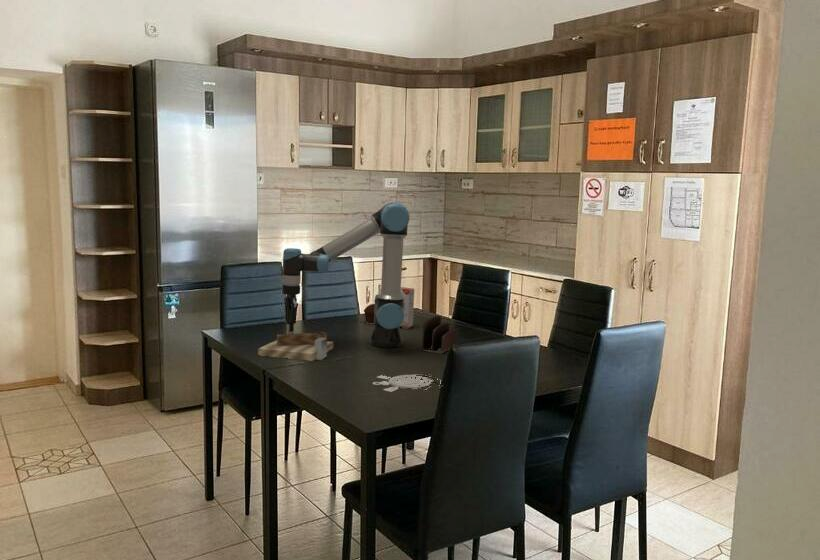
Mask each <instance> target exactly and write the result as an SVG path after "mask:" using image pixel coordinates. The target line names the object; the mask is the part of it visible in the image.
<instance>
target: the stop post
mask: <svg viewBox="0 0 820 560" xmlns="http://www.w3.org/2000/svg"><path fill="white" fill-rule="evenodd" d="M327 341H328V338H318V339H316V340H315V360H314V361H316V360H317V361H323V360H325V359H326V358H327V353H328V352H327ZM325 357H326V358H325Z"/></svg>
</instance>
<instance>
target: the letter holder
mask: <svg viewBox="0 0 820 560" xmlns="http://www.w3.org/2000/svg"><path fill="white" fill-rule="evenodd" d="M441 317H442V316H441V315H435V316H432V317H430V318H429V319H427V320H426V321H424V323H423V328H422V338H421V339H422V340H421V351H422V350H431V351H437V350H438V349H439V348H442V349H441V350H442V351H444V350H446V349H447V352H448V348H450V347H451V346H453V344H455V343H458V344H459V342H458V341H459V339H458V338H459V331H458V328H455V329H451V330H450V323H449V322H445V323H442V322H441V321H442V318H441ZM441 345H442V346H441ZM431 346H432V349H431ZM429 348H430V349H429Z"/></svg>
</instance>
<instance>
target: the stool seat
mask: <svg viewBox="0 0 820 560" xmlns="http://www.w3.org/2000/svg"><path fill="white" fill-rule="evenodd" d="M331 349H332V350H333V349H334V341H328V340H327V353H328V352H330V351H331ZM257 350H258V351H257V356H258V355H260V356H259V357H266V356H268V357H269V358H276V357H277V358H278V359H286V358H288V359H289V360H295V359H297V360H296V361H305V360H306V361H305V362H313V361H316V360H315V344H307V345H286V346H278V344H277V339H276V340H274V341H272V342H269V343H267V344H265V345H264V346H261V347H259V348H258V349H257ZM329 350H330V351H329Z"/></svg>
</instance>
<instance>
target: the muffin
mask: <svg viewBox="0 0 820 560" xmlns="http://www.w3.org/2000/svg"><path fill="white" fill-rule="evenodd" d="M374 309H375V303H371V304H369V305H367V306H366V307H365V308H364V309H363V312H364V316H365V317H364V318H365V323H366V322H368V323H374Z"/></svg>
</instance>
